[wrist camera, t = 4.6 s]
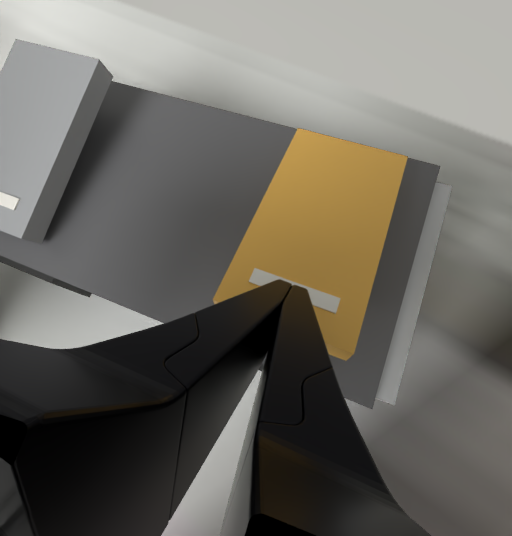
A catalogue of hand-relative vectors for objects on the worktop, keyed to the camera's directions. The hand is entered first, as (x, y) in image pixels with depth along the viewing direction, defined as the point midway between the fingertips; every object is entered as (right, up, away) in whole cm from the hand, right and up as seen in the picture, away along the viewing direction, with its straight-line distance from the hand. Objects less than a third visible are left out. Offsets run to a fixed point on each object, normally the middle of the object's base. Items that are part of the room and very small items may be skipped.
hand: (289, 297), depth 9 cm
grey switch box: (-4, +2, +11) cm, 12 cm away
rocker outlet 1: (-11, +6, +5) cm, 14 cm away
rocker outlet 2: (+1, +2, +3) cm, 4 cm away
